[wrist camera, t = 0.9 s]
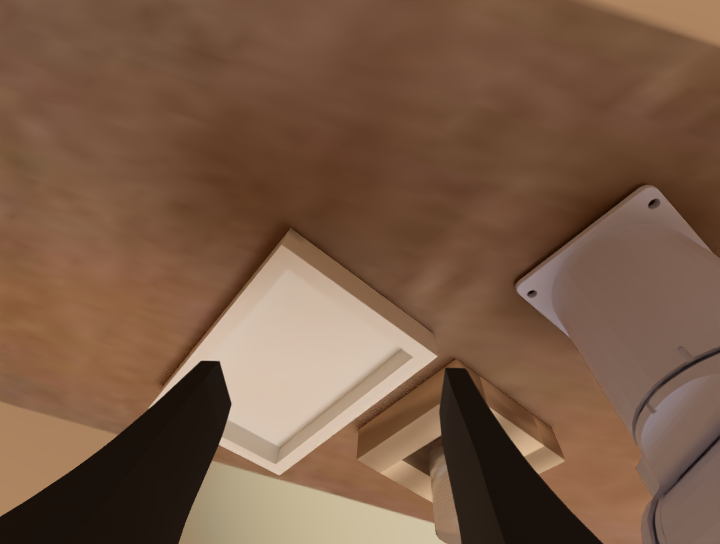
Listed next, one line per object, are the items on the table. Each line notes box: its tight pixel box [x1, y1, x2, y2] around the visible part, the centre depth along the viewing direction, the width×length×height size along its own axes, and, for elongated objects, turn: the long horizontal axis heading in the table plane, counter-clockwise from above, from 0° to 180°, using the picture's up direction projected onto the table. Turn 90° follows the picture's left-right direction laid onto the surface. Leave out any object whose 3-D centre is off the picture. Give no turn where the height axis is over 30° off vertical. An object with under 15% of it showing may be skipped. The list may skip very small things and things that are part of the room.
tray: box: [148, 228, 438, 475], centre depth 25 cm, size 11×17×2 cm, turn 141°
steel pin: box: [427, 436, 461, 544], centre depth 25 cm, size 4×4×7 cm
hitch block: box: [357, 359, 566, 502], centre depth 27 cm, size 10×10×2 cm
